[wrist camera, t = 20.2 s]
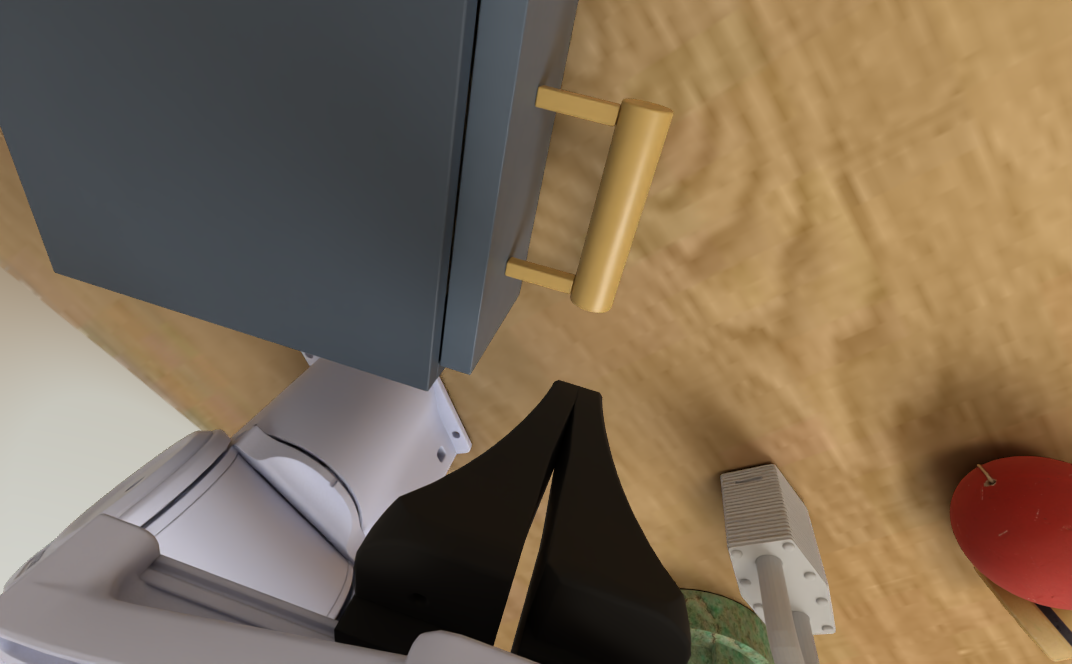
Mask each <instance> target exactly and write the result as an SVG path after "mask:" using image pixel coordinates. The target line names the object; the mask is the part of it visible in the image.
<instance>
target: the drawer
mask: <svg viewBox="0 0 1072 664" xmlns="http://www.w3.org/2000/svg"><path fill="white" fill-rule="evenodd" d="M577 5H578V0H478V1H477V10H476V20H475V29H474V38H473V47H472V56H471V65H470V75H469V84H468V93H467V102H466V111H465V121H464V130H463V139H462V148H461V157H460V167H459V176H458V185H457V194H456V203H455V212H454V222H453V231H452V240H451V249H450V258H449V268H448V277H447V286H446V295H447V294H448V298H447V307H446V316H445V325H444V334H443V343H442V352H441V361H440V365H441V366H443V367H447V368H450V369H453V370H456V371H459V372H462V373H466V374H469V375H470V374H471V373H472V371H473V369H474V368H475V366H476V365H477V363H478V361H479V360H480V358H481V356H482V355H483V353H484V351H485V350H486V348H487V346H488V345H489V343H490V342H491V340H492V338H493V337H494V335H495V333H496V332H497V330H498V328H499V327H500V325H501V323H502V322H503V320H504V319H505V317H506V315H507V314H508V312H509V310H510V309H511V307H512V305H513V304H514V302H515V301H516V299H517V297H518V296H519V293H520V288H521V283H522V281H526V282H529V283H533V284H536V285H540V286H543V287H547V288H550V289H553V290H557V291H560V292H564V293H567V294H570V293H571V296H570V297H571V301H572V302H573V303H574V304H575V305H576V306H577V307H579V308H581V309H583V310H586V311H589V312H594V313H603V312H607V311H609V310H610V309H611V307H612V304H613V301H614V298H615V294H616V291H617V288H618V285H619V282H620V279H621V276H622V273H623V270H624V267H625V263H626V260H627V257H628V254H629V251H630V248H631V245H632V242H633V239H634V235H635V232H636V229H637V226H638V223H639V220H640V217H641V214H642V211H643V207H644V204H645V201H646V198H647V195H648V192H649V189H650V186H651V183H652V179H653V176H654V173H655V170H656V167H657V164H658V161H659V158H660V155H661V151H662V148H663V145H664V142H665V139H666V136H667V133H668V130H669V127H670V123H671V120H672V117H673V114H674V112H673V111H672V110H671V109H669V108H667V107H664V106H661V105H658V104H655V103H651V102H647V101H642V100H637V99H623V101H622V103H621V105H620V104H617V103H613V102H609V101H605V100H601V99H597V98H593V97H589V96H585V95H581V94H577V93H573V92H569V91H565V90H561V84H562V79H563V74H564V69H565V64H566V59H567V54H568V49H569V45H570V40H571V35H572V30H573V25H574V20H575V15H576V10H577ZM556 112H558V113H562V114H566V115H570V116H574V117H577V118H581V119H585V120H589V121H593V122H597V123H601V124H605V125H609V126H615V125H616V126H615V130H614V134H613V137H612V141H611V145H610V149H609V152H608V156H607V160H606V164H605V167H604V171H603V175H602V179H601V182H600V186H599V190H598V194H597V198H596V201H595V205H594V209H593V213H592V216H591V220H590V224H589V228H588V231H587V235H586V239H585V243H584V247H583V250H582V254H581V258H580V262H579V265H578V269H577V273H576V276H575V275H574V274H570V273H567V272H563V271H560V270H556V269H553V268H549V267H546V266H542V265H539V264H535V263H532V262H528V261H526V258H527V253H528V248H529V243H530V238H531V233H532V229H533V224H534V219H535V214H536V209H537V204H538V199H539V194H540V189H541V184H542V179H543V174H544V169H545V164H546V159H547V154H548V149H549V144H550V139H551V134H552V129H553V124H554V119H555V114H556ZM571 291H572V292H571ZM446 295H445V296H446Z"/></svg>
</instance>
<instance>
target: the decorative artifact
mask: <svg viewBox="0 0 1072 664" xmlns="http://www.w3.org/2000/svg"><path fill="white" fill-rule="evenodd" d="M680 590H681V591H682V593H683V594H684V598H685V602H686V607H687V612H688V619H689V625H690V632H691V657H690V659H689V661H688V663H687V664H775V663H774V660H773V656H772V652H771V649H770V644H769V640H768V635H767V630H766V625H765V623H764V622H763V621H762V620H761V619H760V618H759V617H758V616H757V615H756V614H755V613H753V612H752V611H751V610H749V609H748V608H746V607H744V606H743V605H741V604H739V603H737V602H735V601H733V600H730V599H728V598H725V597H722V596H719V595H716V594H712V593H707V592H702V591H696V590H682V589H680Z"/></svg>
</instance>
